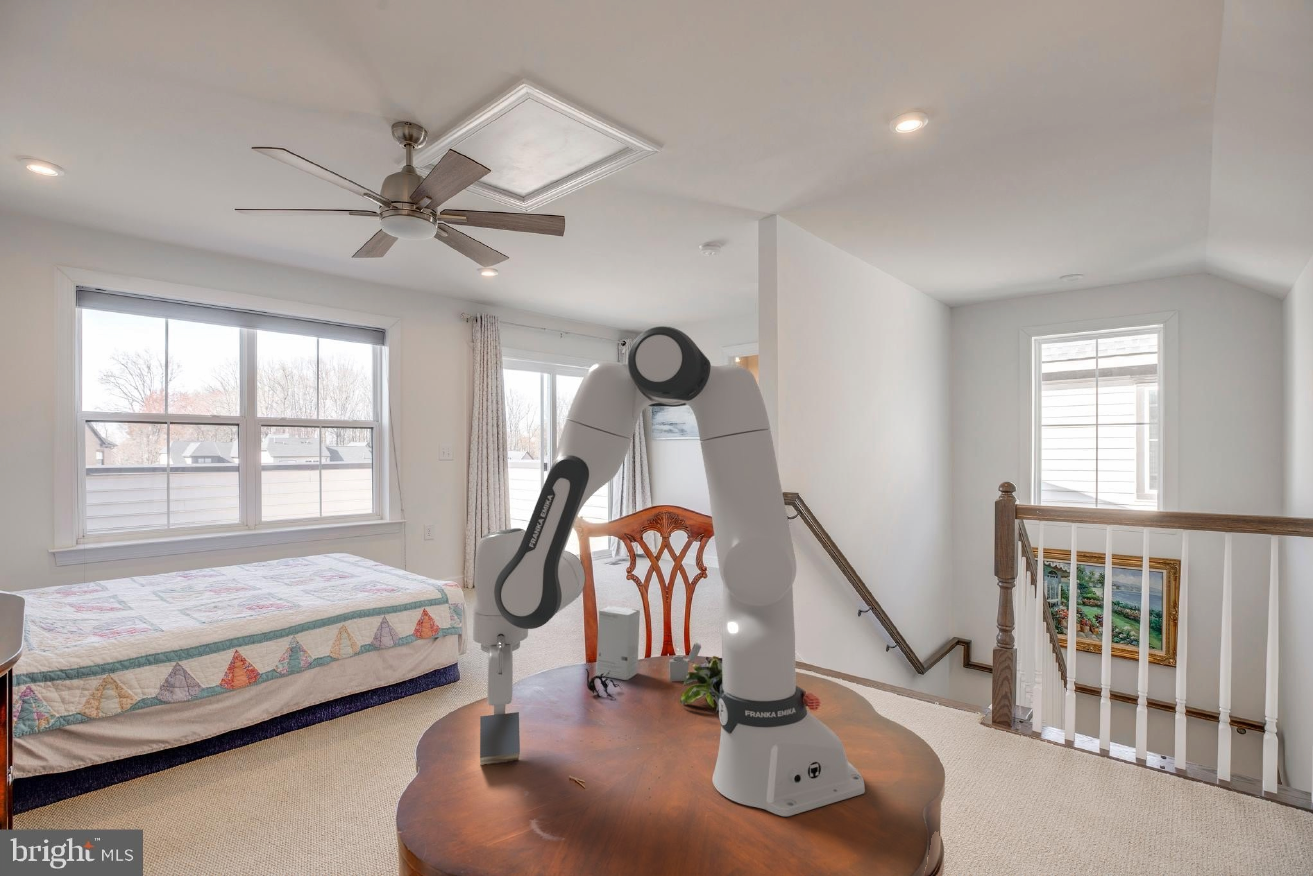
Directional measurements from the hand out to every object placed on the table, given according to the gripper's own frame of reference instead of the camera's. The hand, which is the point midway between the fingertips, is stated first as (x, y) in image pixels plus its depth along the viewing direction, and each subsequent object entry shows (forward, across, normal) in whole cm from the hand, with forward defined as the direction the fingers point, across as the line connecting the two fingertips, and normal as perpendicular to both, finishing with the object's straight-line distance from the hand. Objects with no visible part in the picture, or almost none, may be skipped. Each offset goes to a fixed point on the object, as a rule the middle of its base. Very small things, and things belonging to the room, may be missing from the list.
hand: (499, 712), depth 102 cm
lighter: (+8, +28, -40) cm, 50 cm away
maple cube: (+5, +1, 0) cm, 5 cm away
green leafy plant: (+8, +12, -41) cm, 44 cm away
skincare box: (+8, +35, -26) cm, 45 cm away
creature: (+8, +24, -22) cm, 33 cm away
